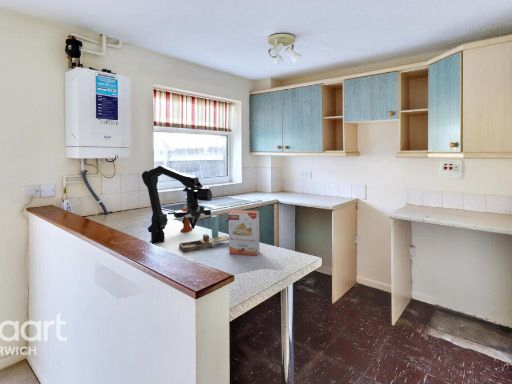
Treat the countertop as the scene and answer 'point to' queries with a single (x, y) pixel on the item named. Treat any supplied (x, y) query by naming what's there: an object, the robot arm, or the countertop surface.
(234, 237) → the cracker box
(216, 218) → the teal cylinder
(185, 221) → the toy drill
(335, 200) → the countertop surface
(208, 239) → the lid
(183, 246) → the wooden frame piece
